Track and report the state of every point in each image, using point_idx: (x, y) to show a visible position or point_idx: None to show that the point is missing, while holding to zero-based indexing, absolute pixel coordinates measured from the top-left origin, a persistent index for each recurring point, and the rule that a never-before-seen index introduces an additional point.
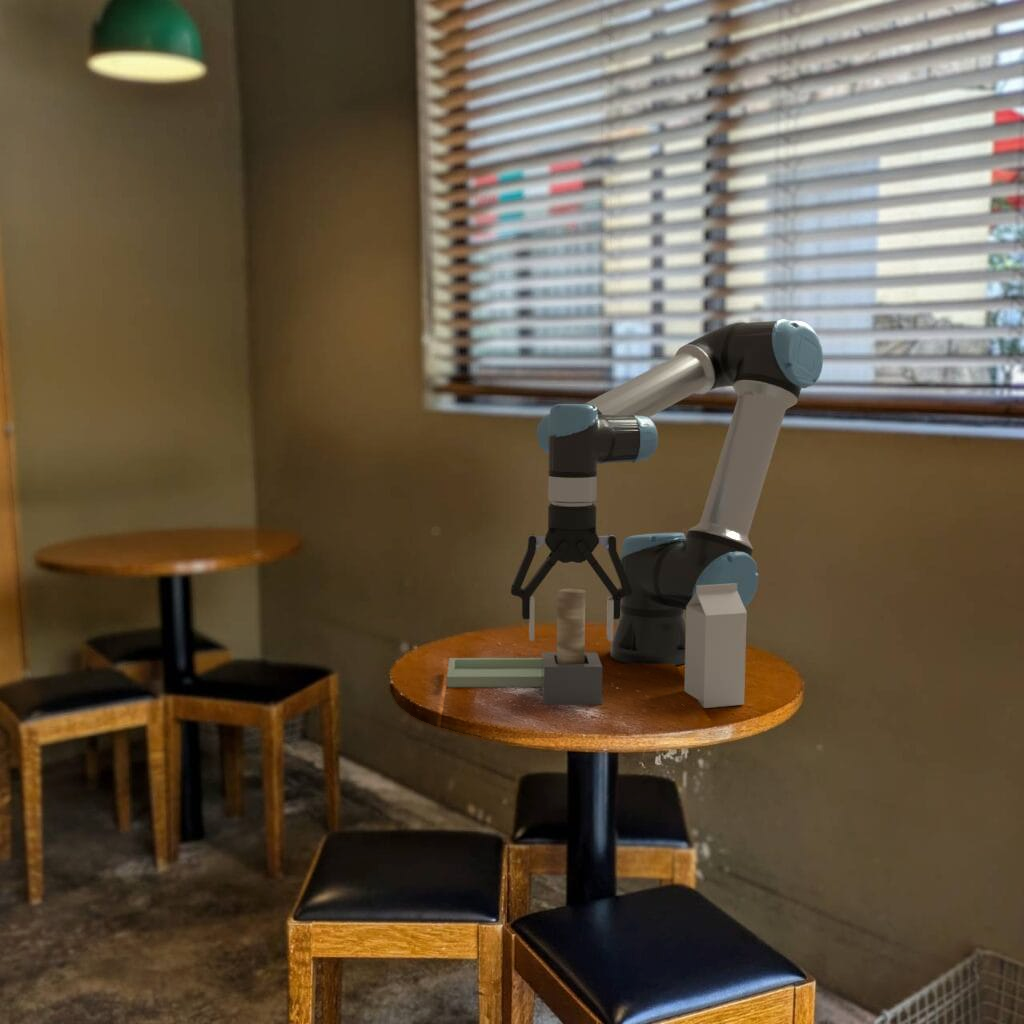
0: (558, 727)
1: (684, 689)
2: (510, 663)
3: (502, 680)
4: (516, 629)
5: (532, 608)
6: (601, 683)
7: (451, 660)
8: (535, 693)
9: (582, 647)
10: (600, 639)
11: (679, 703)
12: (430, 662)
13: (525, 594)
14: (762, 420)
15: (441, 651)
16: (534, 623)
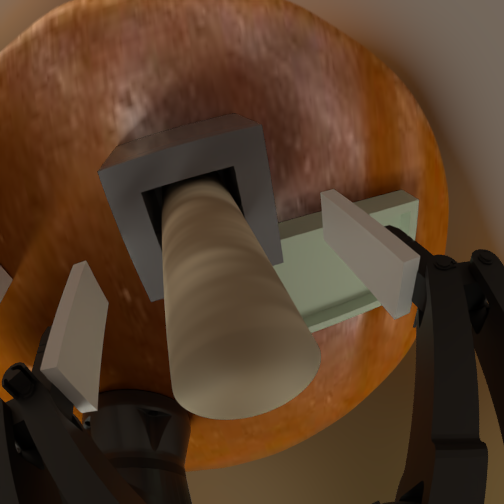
0: (189, 18)
1: (8, 285)
2: (323, 316)
3: None
4: (310, 433)
5: (389, 240)
6: (107, 159)
7: None
8: None
9: (164, 226)
10: (216, 443)
11: (6, 241)
12: None
13: (450, 266)
14: None
15: (391, 351)
16: (349, 215)
